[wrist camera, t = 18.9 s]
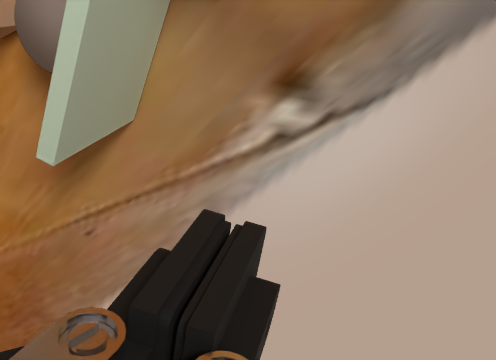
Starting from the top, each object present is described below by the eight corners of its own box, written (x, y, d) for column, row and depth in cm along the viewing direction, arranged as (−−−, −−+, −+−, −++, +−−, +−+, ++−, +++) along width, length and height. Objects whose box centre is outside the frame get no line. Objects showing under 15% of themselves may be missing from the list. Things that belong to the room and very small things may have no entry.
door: (178, -92, 29) (90, -121, 20) (195, -84, 29) (113, -110, 20) (120, 113, 36) (35, 157, 27) (133, 119, 36) (53, 166, 27)
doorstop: (122, -41, 32) (70, -44, 26) (158, 44, 33) (116, 57, 28) (57, -6, 34) (-3, -3, 29) (94, 71, 36) (44, 88, 30)
